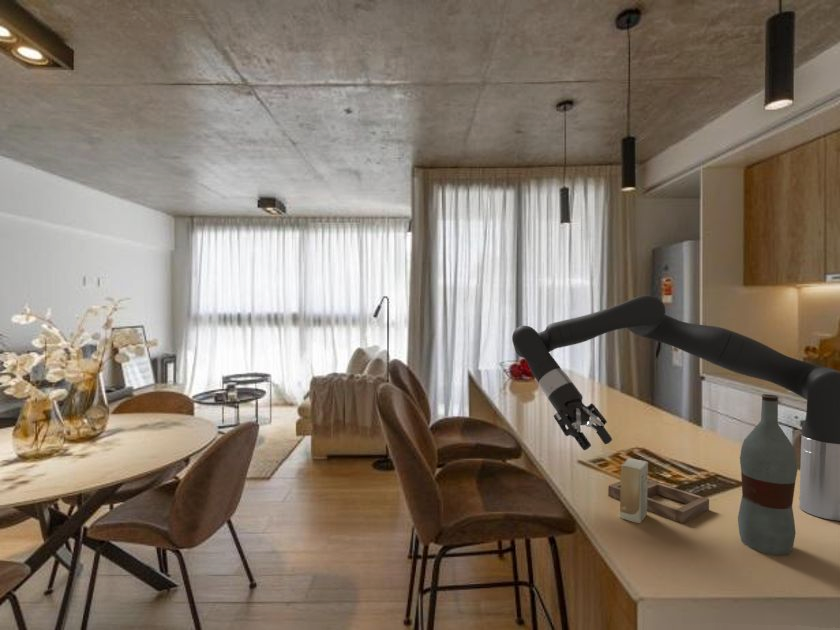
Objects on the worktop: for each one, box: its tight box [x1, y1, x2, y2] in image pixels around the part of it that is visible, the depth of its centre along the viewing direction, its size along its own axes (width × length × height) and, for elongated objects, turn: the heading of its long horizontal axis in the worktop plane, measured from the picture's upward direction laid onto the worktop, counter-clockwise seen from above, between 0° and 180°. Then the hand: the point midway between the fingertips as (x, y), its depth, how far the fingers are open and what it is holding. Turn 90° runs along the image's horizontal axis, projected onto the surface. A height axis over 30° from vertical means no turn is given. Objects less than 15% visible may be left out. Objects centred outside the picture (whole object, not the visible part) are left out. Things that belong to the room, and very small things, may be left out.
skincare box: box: [619, 457, 649, 524], centre depth 107 cm, size 6×4×12 cm
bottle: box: [737, 393, 799, 556], centre depth 95 cm, size 9×9×30 cm
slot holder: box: [607, 479, 710, 524], centre depth 115 cm, size 18×12×2 cm
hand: (598, 445), depth 115 cm, fingers open, 8 cm apart
